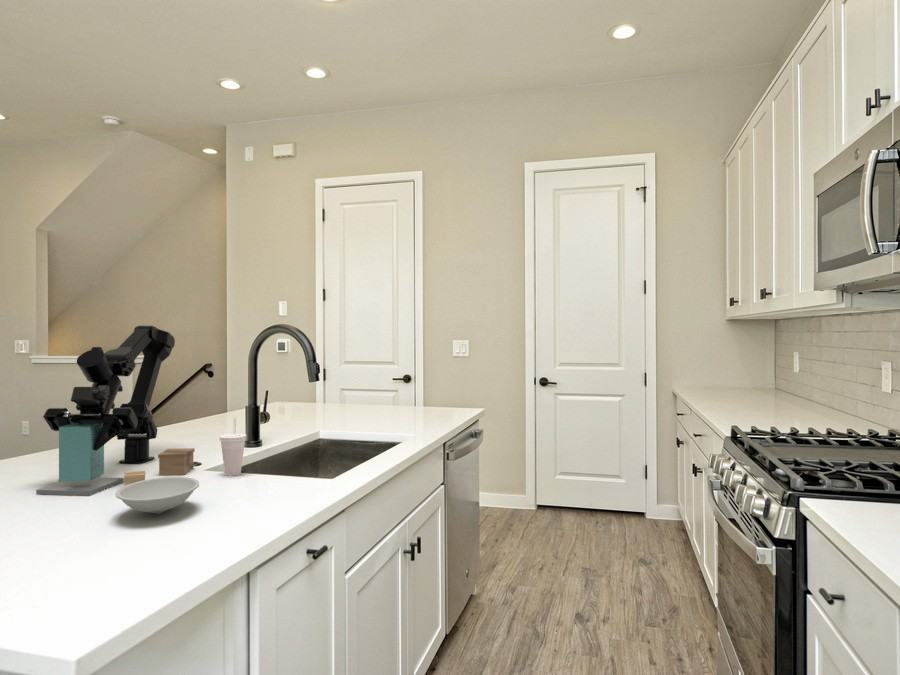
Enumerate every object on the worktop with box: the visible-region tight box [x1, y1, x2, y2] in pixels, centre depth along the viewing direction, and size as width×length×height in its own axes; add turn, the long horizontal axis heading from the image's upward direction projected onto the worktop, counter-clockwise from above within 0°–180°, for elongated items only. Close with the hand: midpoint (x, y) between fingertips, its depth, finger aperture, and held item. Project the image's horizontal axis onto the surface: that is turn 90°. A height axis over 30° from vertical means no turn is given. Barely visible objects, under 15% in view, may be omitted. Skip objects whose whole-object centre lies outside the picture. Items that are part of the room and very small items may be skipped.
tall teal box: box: [58, 422, 105, 482], centre depth 134 cm, size 6×6×12 cm
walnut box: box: [157, 447, 195, 476], centre depth 150 cm, size 7×6×5 cm
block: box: [123, 470, 146, 487], centre depth 132 cm, size 4×4×4 cm
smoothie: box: [219, 417, 247, 476], centre depth 148 cm, size 6×6×14 cm
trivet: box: [35, 476, 124, 497], centre depth 134 cm, size 12×12×1 cm
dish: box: [115, 476, 200, 515], centre depth 116 cm, size 18×14×5 cm
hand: (79, 449), depth 132 cm, fingers closed on tall teal box, 6 cm apart
